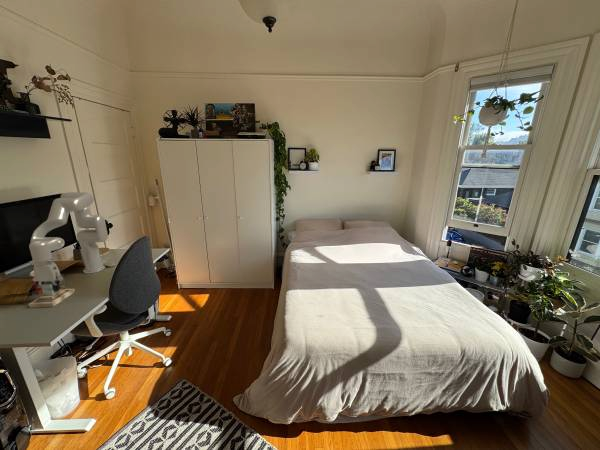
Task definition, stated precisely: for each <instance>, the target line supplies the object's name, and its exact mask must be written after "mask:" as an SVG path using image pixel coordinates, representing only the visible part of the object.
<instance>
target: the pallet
mask: <svg viewBox="0 0 600 450" xmlns="http://www.w3.org/2000/svg"><path fill="white" fill-rule="evenodd" d="M55 282H56V281H55ZM53 286H54V284H53V283H52V281H47V282H45V283H43V284H41V288H42V292H43V293H42V295H40V296H38V298H39V300H52V299H54V298H56V297H57V296H59V295H60V294H62V293H64V292H65V289H66V288H64V289H63V288H60V289H59V290H58V291H56V292H55V291H54V287H53Z"/></svg>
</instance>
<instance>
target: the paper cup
mask: <svg viewBox="0 0 600 450" xmlns="http://www.w3.org/2000/svg"><path fill="white" fill-rule="evenodd" d="M29 276H30V277H31V280H32V279H33V278H34V277H35V276H34V270H32V271H31V272H30V273H29ZM33 282H34V281H33V280H32V283H33ZM46 282H47V281H46ZM33 285H34V289H35V290H36V293H37V294H39V295H41V294H42V295H43V292H42V291H41V287H40V286H39V285H38V284H37V283H36V282H35V284H34V283H33Z"/></svg>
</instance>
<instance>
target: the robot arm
mask: <svg viewBox="0 0 600 450" xmlns="http://www.w3.org/2000/svg"><path fill="white" fill-rule="evenodd" d="M52 201H53V202H52V205H51V207H50V211H49V213H48V217H47V220H46V221H44V222H42V223H41V224H39V226H38V227H37V228H36V229H35V230H34V231H33V233H32V234H31V235H32V236H31V238H30V243H29V245H28V247H29V251H30V255H31V258H32V262H33V265H34V266H33V271H34V276H35V277H34V278H33V279H32V278H31V280H32V282H33V281H34V282H36V283H37V284H38V285H39V286H40V287H41V284H43V283H45V282H46V281H52V283H53V284H54V286H53V287H54V291H55V292H56V291H58V290H59V289H61V287H60V286H61V285H60V283H61V282H62V281H63V280H64V277H63V276H62V275H61V272H60V269H59V267H58V265H57V264H56V262H55V260H53V259H54V258H53V255H52V252H53V251H59V250H60V249H62V248H63V247H64V246H65V244H66V243H65V240H64V239H63V238H61V237H57V236H56V237H55V236H52V237H51V236H49V237H48V236H46V235H47V234H49V232H51V231H52V230H54V229H57V228H59V227H62V226H64V225H66V224H67V223H68V219H69V215H70V212H74V218H75V223H76V226H77V227H78V228H80V229H81V230H79V231H78V232H77V233H76V240H77V241H78V244H79V245H80V249H81V253H82V258H83V262H84V269H83V270H82V271H83V273H84V274H95V273H99V272H101V270H102V271H103V269H104V268H106V266H105V264H104V263H106V260H102V258H101V253H100V249H99V245H98V244H97V243H104V242H106V241H108V238H109V237H108V236H109V234H108V230H107V224H106V220H105V218H104V217H103V216H102V215H100V214H92V213H91V209H90V206H91V205H92V204H93V203H94V201H95V198H94V195H93V194H92V193H90V192H80V191H78V192H75V191H74V192H73V191H69V192H67V191H66V192H63V193H61V195H60V197H59V198H55V199H53V200H52ZM103 264H104V265H103ZM104 270H105V269H104ZM55 281H56V282H55ZM41 291H42V288H41Z"/></svg>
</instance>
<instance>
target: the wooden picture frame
mask: <svg viewBox="0 0 600 450" xmlns="http://www.w3.org/2000/svg"><path fill="white" fill-rule="evenodd" d="M64 289H65V292H64V293H62V294H60V295H59V296H57V297H56V298H54V299H52V300H39V297H38V298H36V299H35V300H33V301H30V303H28V308H33V309H34V308H49V307H50V308H51V307H52V308H53V307H54V306H56V305H57V304H60V303H61V302H62V301H64V300H65V299H67V298H68V297H70V296H71V295H73V294H74V293H75V292H76V291H75V288H64Z"/></svg>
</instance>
